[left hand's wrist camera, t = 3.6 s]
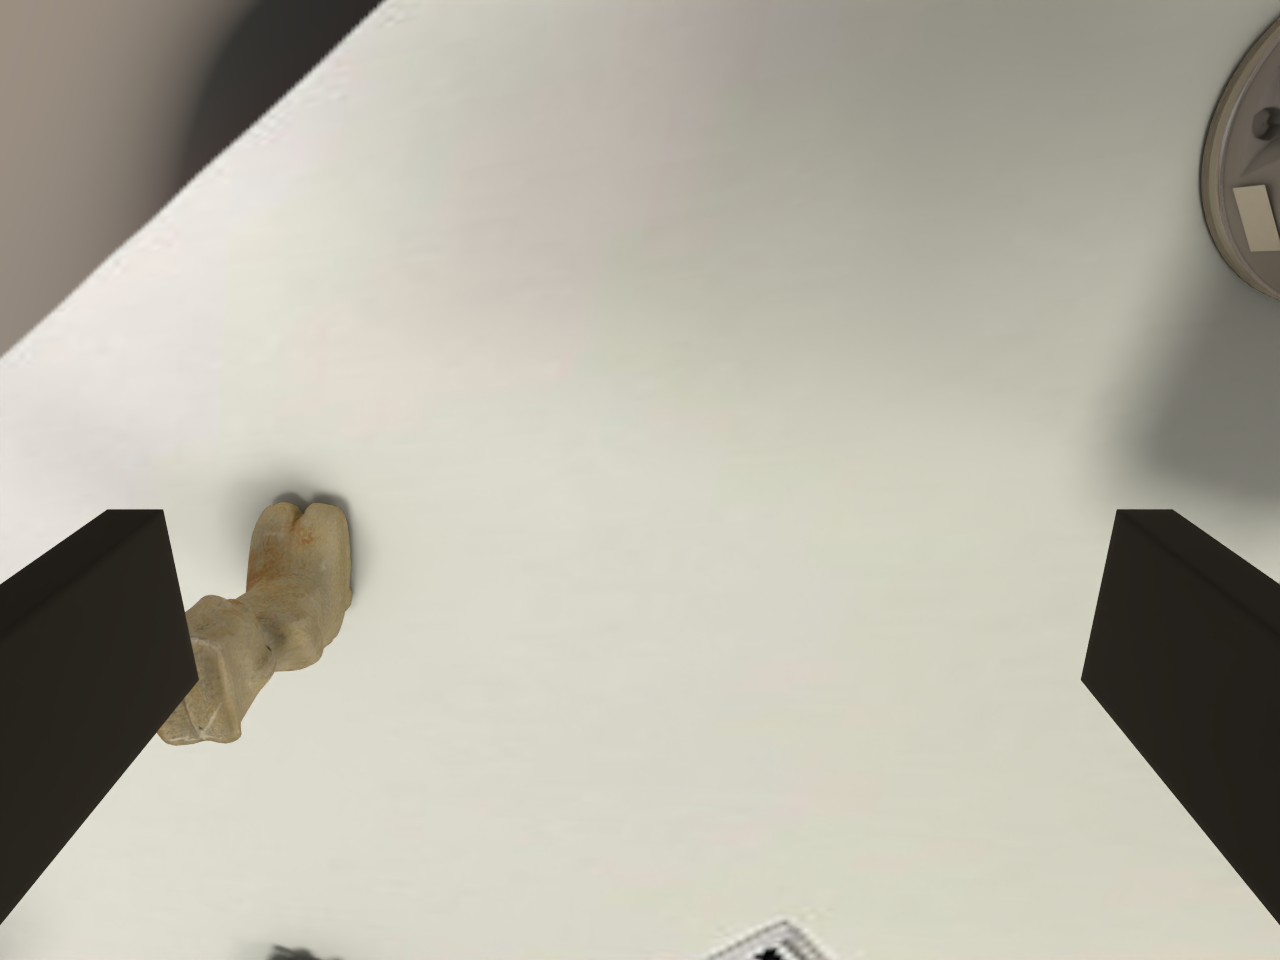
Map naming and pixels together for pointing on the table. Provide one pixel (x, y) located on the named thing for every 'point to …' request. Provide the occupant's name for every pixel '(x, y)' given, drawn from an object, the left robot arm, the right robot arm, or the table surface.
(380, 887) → the table surface
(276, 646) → the sculpture
